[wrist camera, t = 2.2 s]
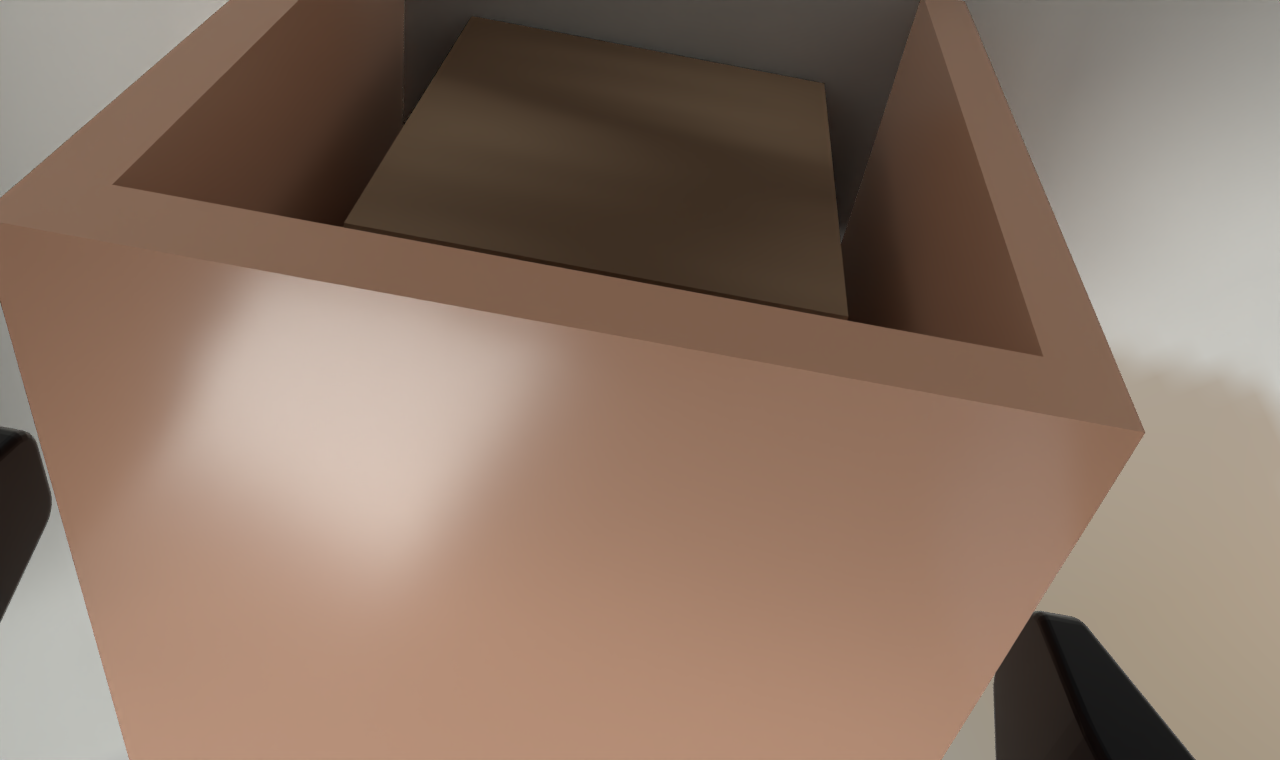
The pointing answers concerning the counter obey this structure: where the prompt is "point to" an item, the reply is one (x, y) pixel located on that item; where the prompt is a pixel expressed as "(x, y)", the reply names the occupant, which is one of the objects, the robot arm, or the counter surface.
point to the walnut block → (619, 168)
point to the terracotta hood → (540, 434)
